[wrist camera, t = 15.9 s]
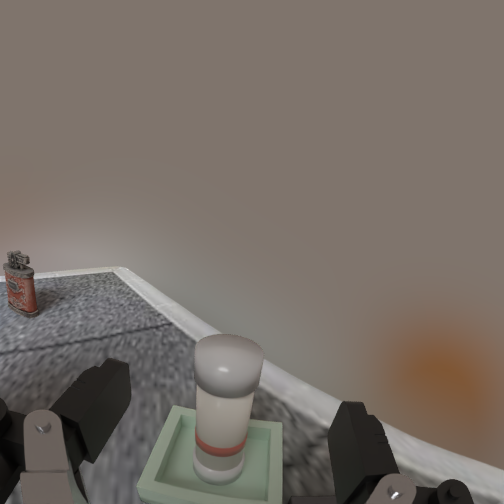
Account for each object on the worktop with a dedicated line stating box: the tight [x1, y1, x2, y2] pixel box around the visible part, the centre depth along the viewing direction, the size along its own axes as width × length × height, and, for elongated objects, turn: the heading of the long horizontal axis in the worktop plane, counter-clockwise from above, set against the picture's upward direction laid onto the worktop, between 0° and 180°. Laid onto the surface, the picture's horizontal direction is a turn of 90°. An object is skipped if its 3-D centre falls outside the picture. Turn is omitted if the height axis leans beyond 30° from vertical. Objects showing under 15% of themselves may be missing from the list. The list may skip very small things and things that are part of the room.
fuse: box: [193, 334, 264, 486], centre depth 18 cm, size 4×4×12 cm
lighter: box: [3, 251, 39, 318], centre depth 36 cm, size 8×3×10 cm, turn 79°
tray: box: [136, 405, 282, 504], centre depth 19 cm, size 10×10×2 cm
